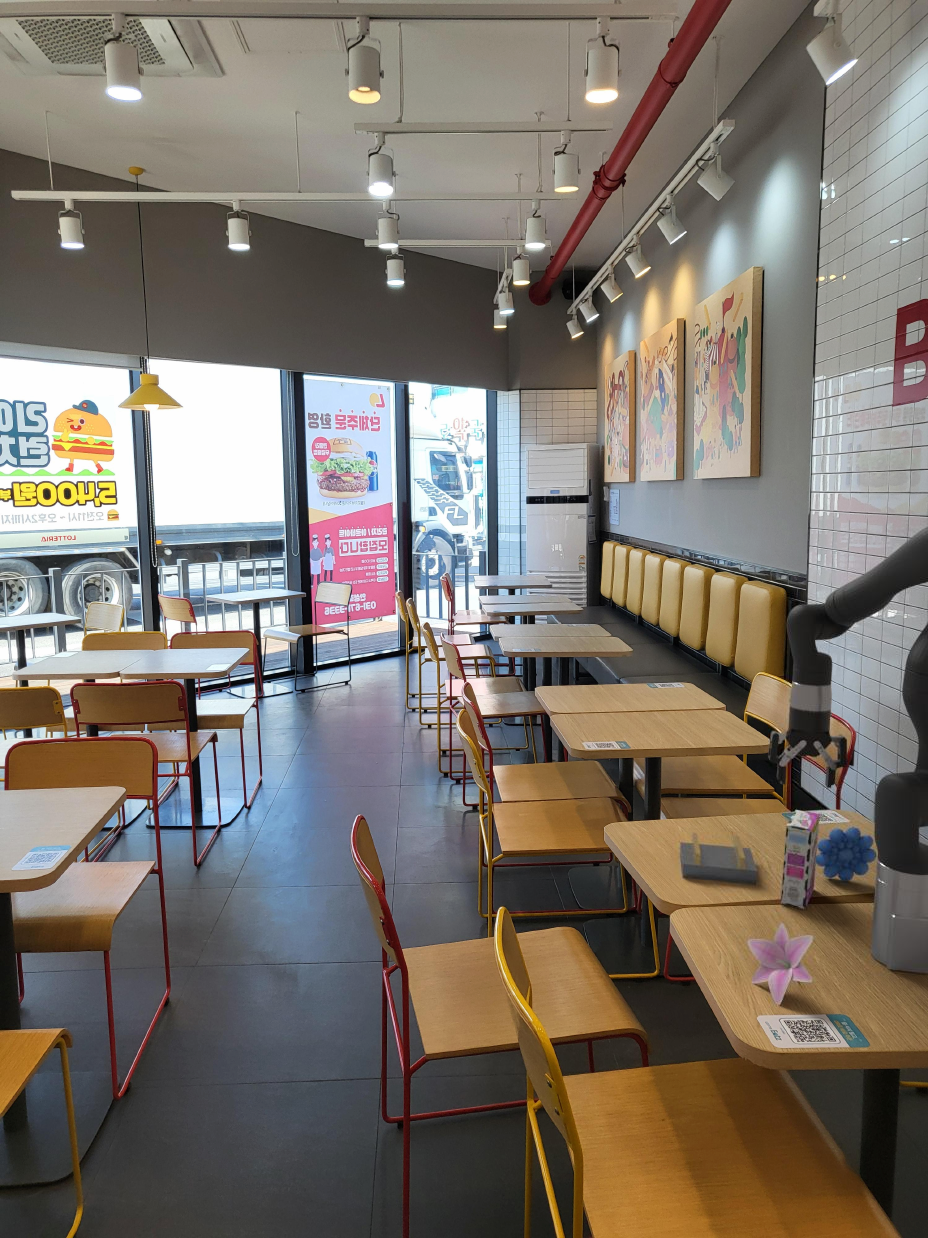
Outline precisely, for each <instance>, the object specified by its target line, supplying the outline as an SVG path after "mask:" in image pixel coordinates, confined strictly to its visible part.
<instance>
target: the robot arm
mask: <svg viewBox="0 0 928 1238" xmlns="http://www.w3.org/2000/svg"><path fill="white" fill-rule="evenodd" d="M926 583H928V526H926V527H924V528H922V529H921V530H920V531H918V532H917V533H915V534H914V535H912V536H911V537H910V538H909V539H907V541H905V542H904V543H903V544H902V545H901V546H900V547H898V548H897V549H896V550H895V551H894V552H892V553H891V554H890V555H889V556H887V557H886V558H885V559H883V560H882V561H881V562H880V563H878V564H877V565H876V566H874V567H873V568H872V569H869V570H868V571H867V572H865V573H864V574H862V575H860V576H858V577H856V578H855V579H853V580H852V581H849V582H848V583H846V584H844V585H842V586H840V587H839V588H837V589H835V590H834V591H832V592H831V593H829V595H828V596H827V598H826V599H825V602H824V603H812V604H811V603H808V604H807V603H806V604H799V605H796V606H794V607H793V608H792V609H791V610H790V612H789V613H788V615H787V619H786V632H787V637H788V641H789V645H790V646H789V648H790V650H791V654H792V659H793V666H792V680H791V681H792V683H791V687H790V694H789V699H788V701H789V712H788V713H789V714H788V725H787V726H788V728H787V731H786V732H777V731H776V730H772V731H771V732H770V737H769V738H770V739H769V745H768V753H767V758H768V760H769V761H770V762H771V763H772V764H776V765H777V769H776V770H777V771H776V778H777V780H778V782H779V784H781V785H786V780H787V779H786V778H787V766H786V765H787V764H788V763H789V762H790V761H791V760H793V759H794V758H795V757H796V756H799V757H808V756H809V757H811V758H817V757H819V756H821V757H822V758H823V760H824V761H825V763H826V765H827V766H826V768H825V781H824V784H825V787H826V788H828V789H829V788H830V789H832V786H834V785H835V784H836V773H837V772H836V771H837V769H839V768H840V769H841V768H846V767H847V766H848V739H847V738H846V737H845V736H844V735H843V734H838V735H831V734H830V731H831V717H832V716H831V715H832V714H831V713H832V702H833V701H832V700H833V699H832V698H833V697H832V696H833V693H832V678H833V677H832V676H833V659H832V657H831V655H830V654H827V653H826V652H822V651H818V647H817V644H816V641H825V640H826V641H827V640H828V641H829V640H833V639H836V638H838V637H840V636H843V635H844V634H845V633H847V632H848V630H849V629H851V628H852V627H853V626H854V625H855V624H856V623H858V622H860V621H863V620H865V619H867V618H869V617H871V616H873V615H874V614H877V613H879V612H880V611H882V610H883V609H884V608H886V607H887V606H888V605H889V604H890V602H891V601H892V600H893V599H894V597H895V596H896V595H898V594H899V593H901V592H902V591H904V590H907V589H909V588H912V587H915V586H919V585H922V584H926ZM901 691H902V695H901V696H902V701H903V704H904V708H905V709H906V712H907V714H908V716H909V719H910V721H911V723H912V724H913V727H914V729H915V732H916V734H917V741H918V745H917V747H918V749H917V757H916V759H917V760H916V764H915V767H914V771H907V772H906V771H905V772H897V773H890V774H887V775H884V776H883V777H882V778H881V779H880V780H879V782H878V784H877V786H876V790H875V796H874V826H873V827H874V833H873V834H874V842H875V845H876V849H877V861H876V872H875V873H876V874H875V887H874V888H875V889H874V899H873V912H872V925H871V926H872V927H871V941H870V954H871V956H872V957H873V958H874V959H875V960H876V961H878V962H879V963H881V964H883V965H884V966H885V967H886V968H887V969H888V970H892V971H900V972H910V973H918V974H919V973H920V974H928V844H925V843H923V842H920V828H926V827H928V622H927V623H926V625H925V626H924V628H923V629H922V630H921V632H920V634H919V635H918V637H917V638H916V639H915V641H914V642H913V644H912V645H911V648H910V650H909V652H908V654H907V658H906V661H905V667H904V675H903V682H902V689H901ZM784 740H786V742H787V743H788V745H787V747H786V748H785V749H784V750H783V752H782V753H781V755H779V756H778V750H779V749H778V748H779V744H782V743H783V741H784ZM831 743H833V745H834V746H835V747H836V748H837V759H835V760H833V759H832V757H831V755H829V753H828V752H827V751H826V749H827V748H828V747H829V746H830V745H831Z"/></svg>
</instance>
